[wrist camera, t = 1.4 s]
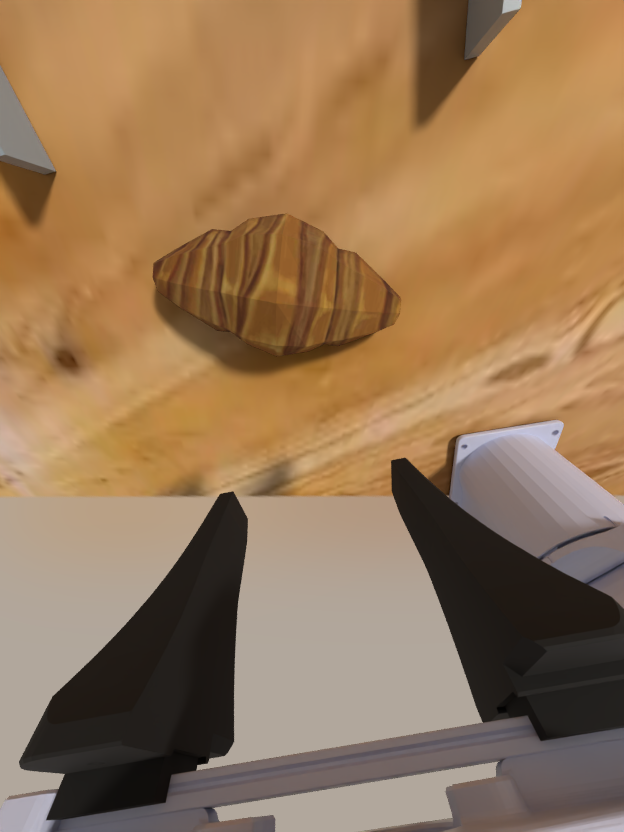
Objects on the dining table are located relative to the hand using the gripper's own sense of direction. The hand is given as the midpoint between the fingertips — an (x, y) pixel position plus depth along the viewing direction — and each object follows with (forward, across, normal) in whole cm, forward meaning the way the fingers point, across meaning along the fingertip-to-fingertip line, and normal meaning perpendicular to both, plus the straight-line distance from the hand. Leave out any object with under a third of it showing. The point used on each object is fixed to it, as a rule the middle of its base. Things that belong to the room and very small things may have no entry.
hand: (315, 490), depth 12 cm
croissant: (+9, 0, -7) cm, 12 cm away
